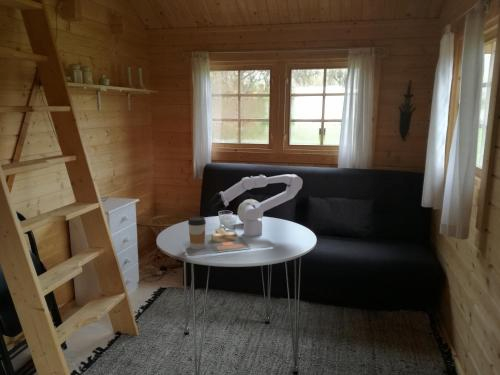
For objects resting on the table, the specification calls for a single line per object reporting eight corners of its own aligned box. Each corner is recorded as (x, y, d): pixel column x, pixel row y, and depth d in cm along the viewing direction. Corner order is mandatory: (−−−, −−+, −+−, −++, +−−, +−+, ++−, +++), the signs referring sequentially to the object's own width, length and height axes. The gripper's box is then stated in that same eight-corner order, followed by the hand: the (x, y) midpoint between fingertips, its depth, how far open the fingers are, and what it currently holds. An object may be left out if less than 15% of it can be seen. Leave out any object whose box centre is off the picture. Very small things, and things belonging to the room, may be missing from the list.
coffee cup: (203, 252, 186) (202, 221, 184) (186, 251, 188) (185, 220, 185) (208, 246, 195) (208, 216, 192) (192, 245, 196) (191, 215, 193)
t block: (230, 233, 213) (230, 227, 213) (236, 239, 202) (236, 233, 202) (208, 235, 209) (207, 229, 209) (213, 242, 198) (213, 236, 198)
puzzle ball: (240, 229, 224) (240, 202, 222) (235, 222, 239) (235, 197, 236) (266, 227, 228) (266, 201, 225) (259, 220, 242) (259, 196, 240)
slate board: (234, 233, 215) (234, 231, 215) (250, 249, 191) (250, 247, 191) (202, 237, 210) (201, 235, 209) (214, 253, 185) (214, 251, 185)
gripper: (226, 182, 212) (204, 196, 212) (231, 192, 199) (208, 207, 199) (232, 192, 215) (211, 206, 215) (238, 202, 202) (216, 217, 202)
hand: (210, 207), depth 207 cm, fingers open, 7 cm apart
